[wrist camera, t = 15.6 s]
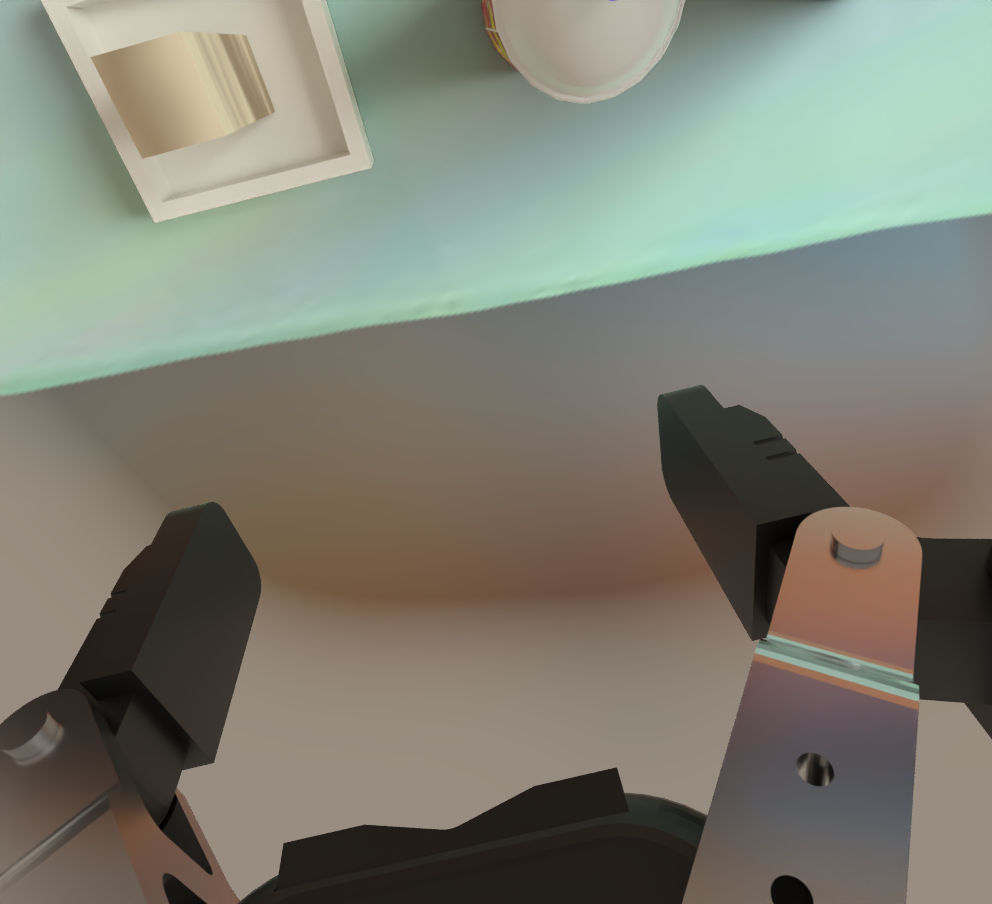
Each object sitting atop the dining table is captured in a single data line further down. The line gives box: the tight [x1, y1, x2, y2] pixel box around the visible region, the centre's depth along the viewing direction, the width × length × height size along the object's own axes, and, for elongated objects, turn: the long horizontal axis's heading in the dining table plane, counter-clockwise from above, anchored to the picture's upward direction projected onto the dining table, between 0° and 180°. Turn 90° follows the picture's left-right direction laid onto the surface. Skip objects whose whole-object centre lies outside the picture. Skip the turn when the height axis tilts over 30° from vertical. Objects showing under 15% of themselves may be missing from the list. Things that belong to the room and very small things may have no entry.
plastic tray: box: [41, 0, 374, 223], centre depth 36 cm, size 14×12×3 cm
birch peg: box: [90, 31, 275, 159], centre depth 32 cm, size 4×4×12 cm
